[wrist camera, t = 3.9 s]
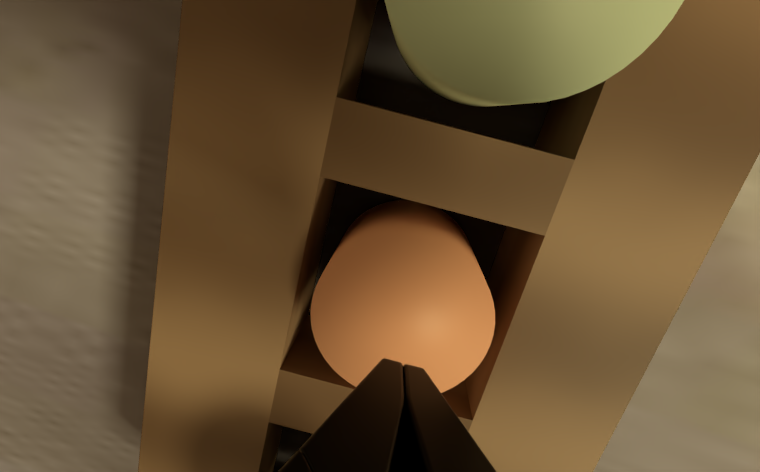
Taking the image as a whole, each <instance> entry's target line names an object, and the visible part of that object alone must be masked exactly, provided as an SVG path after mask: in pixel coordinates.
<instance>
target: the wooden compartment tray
mask: <svg viewBox="0 0 760 472" xmlns="http://www.w3.org/2000/svg"><path fill="white" fill-rule="evenodd" d="M377 1H378V0H182V10H181V21H180V32H179V42H178V53H177V63H176V74H175V85H174V95H173V106H172V117H171V127H170V138H169V148H168V159H167V170H166V180H165V191H164V201H163V212H162V223H161V233H160V244H159V254H158V265H157V276H156V286H155V297H154V307H153V318H152V329H151V339H150V350H149V360H148V371H147V382H146V392H145V403H144V413H143V424H142V435H141V445H140V456H139V466H138V472H273V470H274V465H275V461H276V456H277V452H278V447H279V443H280V438H281V434H282V429H283V426H285V427H289V428H293V429H296V430H300V431H304V432H308V433H312V434H313V433H314V432H315V431H316V430H317V429H318V428H319V427H320V426H321V425H322V424H323V423H324V421H325V420H326V419H327V418H328V417H329V416H330V415H331V414H332V413H333V412H334V411H335V409H336V408H337V407H338V406H339V405H340V404H341V403H342V402H343V401H344V400H345V399H346V398H347V396H348V395H349V394H350V393H351V392H352V391H353V390H354V389H355V388H356V387H355V386H354V385H352V384H350V383H349V382H347V381H346V380H345V379H343V378H342V377H341V376H339V375H338V374H337V373H336V372H335V371H334V370H333V369H332V368H331V366H330V365H329V364H328V363H327V361H326V360H325V359H324V357H323V355H322V354H321V352H320V350H319V348H318V346H317V344H316V341H315V338H314V335H313V331H312V326H311V316H310V315H308V312H309V308H310V303H311V298H312V294H313V289H314V285H315V280H316V276H317V271H318V267H319V262H320V258H321V253H322V249H323V244H324V240H325V235H326V231H327V226H328V222H329V217H330V213H331V208H332V204H333V199H334V195H335V190H336V186H337V181H339V182H343V183H347V184H350V185H354V186H358V187H362V188H366V189H369V190H373V191H377V192H381V193H384V194H388V195H392V196H396V197H400V198H403V199H407V200H411V201H415V202H419V203H422V204H426V205H430V206H434V207H437V208H441V209H445V210H449V211H453V212H456V213H460V214H464V215H468V216H472V217H475V218H479V219H483V220H487V221H490V222H494V223H498V224H502V225H506V229H505V232H504V234H503V237H502V240H501V243H500V245H499V248H498V251H497V254H496V257H495V259H494V262H493V265H492V268H491V271H490V273H489V276H488V279H487V285H488V287H489V289H490V292H491V295H492V299H493V302H494V309H495V328H494V335H493V338H492V342H491V345H490V347H489V349H488V351H487V354H486V356H485V357H484V359H483V360H482V362H481V363H480V365H479V366H478V367H477V368H476V369H475V370H474V372H473V373H472V374H471V375H469V376H468V377H467V378H466V379H465V380H464V381H462V382H461V383H459V384H458V385H456V386H455V387H453V388H451V389H449V390H447V391H445V392H442V393H441V394H442V395H443V396H444V398H445V399H446V401H447V402H448V404H449V405H450V406H451V408H452V409H453V411H454V412H455V413H456V415H457V416H458V418H459V419H460V421H461V422H462V423H463V425H464V426H465V428H466V429H467V430H468V432H469V433H470V435H471V436H472V438H473V439H474V440H475V442H476V443H477V445H478V446H479V448H480V449H481V450H482V452H483V453H484V455H485V456H486V457H487V459H488V460H489V462H490V463H491V465H492V466H493V467H494V469H495V470H496V472H593V470H594V468H595V466H596V465H597V463H598V461H599V459H600V457H601V455H602V453H603V451H604V449H605V447H606V445H607V443H608V442H609V440H610V438H611V436H612V434H613V432H614V430H615V428H616V426H617V424H618V422H619V421H620V419H621V417H622V415H623V413H624V411H625V409H626V407H627V405H628V403H629V401H630V400H631V398H632V396H633V394H634V392H635V390H636V388H637V386H638V384H639V382H640V380H641V379H642V377H643V375H644V373H645V371H646V369H647V367H648V365H649V363H650V361H651V359H652V357H653V356H654V354H655V352H656V350H657V348H658V346H659V344H660V342H661V340H662V338H663V336H664V335H665V333H666V331H667V329H668V327H669V325H670V323H671V321H672V319H673V317H674V315H675V314H676V312H677V310H678V308H679V306H680V304H681V302H682V300H683V298H684V296H685V294H686V293H687V291H688V289H689V287H690V285H691V283H692V281H693V279H694V277H695V275H696V273H697V271H698V270H699V268H700V266H701V264H702V262H703V260H704V258H705V256H706V254H707V252H708V250H709V249H710V247H711V245H712V243H713V241H714V239H715V237H716V235H717V233H718V231H719V229H720V228H721V226H722V224H723V222H724V220H725V218H726V216H727V214H728V212H729V210H730V208H731V207H732V205H733V203H734V201H735V199H736V197H737V195H738V193H739V191H740V189H741V187H742V185H743V184H744V182H745V180H746V178H747V176H748V174H749V172H750V170H751V168H752V166H753V164H754V163H755V161H756V159H757V157H758V155H759V153H760V0H684V1H683V3H682V5H681V6H680V8H679V9H678V11H677V13H676V14H675V16H674V17H673V19H672V20H671V21H670V22H669V24H668V25H667V26H666V28H665V29H664V30H663V31H662V33H661V34H660V35H659V36H658V38H657V39H656V40H655V41H654V42H653V43H652V44H651V45H650V46H649V47H648V48H647V49H646V50H645V51H644V52H643V53H642V54H641V55H640V56H638V57H637V58H636V59H635V60H634V61H632V62H631V63H630V64H629V65H627V66H626V67H625V68H624V69H622V70H621V71H619V72H618V73H616V74H615V75H613V76H611V77H610V78H608V79H607V80H605V81H604V82H602V83H600V84H597V85H595V86H593V87H591V88H589V89H587V90H585V91H583V92H580V93H577V94H574V95H571V96H568V97H566V98H561V99H557V100H552V101H551V103H550V106H549V109H548V112H547V114H546V117H545V120H544V123H543V126H542V128H541V131H540V134H539V137H538V140H537V142H536V145H535V148H532V147H529V146H525V145H521V144H517V143H513V142H510V141H506V140H502V139H498V138H495V137H491V136H487V135H483V134H479V133H476V132H472V131H468V130H464V129H460V128H457V127H453V126H449V125H445V124H441V123H438V122H434V121H430V120H426V119H423V118H419V117H415V116H411V115H407V114H404V113H400V112H396V111H392V110H388V109H385V108H381V107H377V106H373V105H369V104H366V103H362V102H358V101H355V100H356V96H357V91H358V87H359V82H360V77H361V73H362V68H363V64H364V59H365V55H366V50H367V46H368V41H369V37H370V32H371V28H372V23H373V19H374V14H375V10H376V5H377Z"/></svg>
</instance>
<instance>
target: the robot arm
mask: <svg viewBox="0 0 760 472" xmlns="http://www.w3.org/2000/svg"><path fill="white" fill-rule="evenodd" d="M278 472H496V470H495V469H494V467H493V466H492V465H491V463H490V462H489V460H488V459H487V457H486V456H485V455H484V453H483V452H482V450H481V449H480V448H479V446H478V445H477V443H476V442H475V440H474V439H473V438H472V436H471V435H470V433H469V432H468V430H467V429H466V428H465V426H464V425H463V423H462V422H461V421H460V419H459V418H458V416H457V415H456V413H455V412H454V411H453V409H452V408H451V406H450V405H449V404H448V402H447V401H446V399H445V398H444V396H443V395H442V394H441V392H440V391H439V389H438V388H437V386H436V385H435V384H434V382H433V381H432V379H431V378H430V377H429V375H428V374H427V372H426V371H425V370H424V369H423V368H421V367H417V366H413V365H409V364H404V365H402V363H401V362H398V361H394V360H390V359H386V358H383V359H382V360H381V361H380V362H379V363H378V364H377V365H376V366H375V367H374V368H373V369H372V370H371V371H370V373H369V374H368V375H367V376H366V377H365V378H364V379H363V380H362V381H361V382H360V383H359V384H358V386H357V387H356V388H355V389H354V390H353V391H352V392H351V393H350V394H349V395H348V396H347V398H346V399H345V400H344V401H343V402H342V403H341V404H340V405H339V406H338V407H337V408H336V409H335V411H334V412H333V413H332V414H331V415H330V416H329V417H328V418H327V419H326V420H325V421H324V423H323V424H322V425H321V426H320V427H319V428H318V429H317V430H316V431H315V432H314V433H313V434H312V436H311V437H310V438H309V439H308V440H307V441H306V442H305V443H304V444H303V445H302V446H301V448H300V449H299V451H297V452H296V453H295V454H294V455H293V456H292V457H291V458H290V459H289V460H288V461H287V462H286V463H285V465H284V466H283V467H282V468H281V469H280V470H279V471H278Z"/></svg>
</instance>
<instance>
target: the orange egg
mask: <svg viewBox="0 0 760 472" xmlns="http://www.w3.org/2000/svg"><path fill="white" fill-rule="evenodd" d="M311 326H312V331H313V335H314V338H315V341H316V344H317V346H318V348H319V350H320V352H321V354H322V355H323V357H324V359H325V360H326V361H327V363H328V364H329V365H330V366H331V368H332V369H333V370H334V371H335V372H336V373H337V374H338V375H339V376H341V377H342V378H343V379H345V380H346V381H347V382H349V383H350V384H352V385H354V386H355V387H357V386H358V384H359V383H360V382H361V381H362V380H363V379H364V378H365V377H366V376H367V375H368V374H369V373H370V371H371V370H372V369H373V368H374V367H375V366H376V365H377V364H378V363H379V362H380V361H381V360H382V359H383V358H386V359H390V360H394V361H398V362H401V363H402V365H404V364H409V365H413V366H417V367H421V368H423V369H424V370H425V371H426V372H427V374H428V375H429V377H430V378H431V379H432V381H433V382H434V384H435V385H436V386H437V388H438V389H439V391H440V392H441V393H442V392H445V391H447V390H449V389H451V388H453V387H455V386H456V385H458V384H459V383H461V382H462V381H464V380H465V379H466V378H467V377H468V376H469V375H471V374H472V373H473V372H474V370H475V369H476V368H477V367H478V366H479V365H480V363H481V362H482V360H483V359H484V357H485V356H486V354H487V351H488V349H489V347H490V345H491V342H492V338H493V335H494V328H495V309H494V302H493V299H492V295H491V292H490V289H489V287H488V285H487V282H486V280H485V278H484V275H483V273H482V271H481V268H480V266H479V264H478V262H477V259H476V257H475V255H474V252H473V250H472V248H471V245H470V243H469V241H468V239H467V237H466V235H465V233H464V232H463V230H462V228H461V227H460V226H459V225H458V224H457V222H456V221H455V220H454V219H453V218H451V217H450V216H449V215H448V214H446V213H445V212H443V211H442V210H440V209H438V208H436V207H434V206H430V205H426V204H422V203H419V202H415V201H411V200H396V201H390V202H386V203H383V204H380V205H377V206H375V207H373V208H371V209H369V210H367V211H366V212H364V213H363V214H361V215H360V216H359V217H358V218H357V219H356V220H355V221H354V222H353V223H352V224H351V225H350V226H349V228H348V229H347V231H346V233H345V234H344V236H343V238H342V239H341V241H340V243H339V245H338V247H337V248H336V250H335V252H334V254H333V255H332V257H331V259H330V261H329V263H328V264H327V266H326V268H325V270H324V271H323V273H322V275H321V277H320V279H319V281H318V283H317V285H316V287H315V291H314V294H313V297H312V303H311Z"/></svg>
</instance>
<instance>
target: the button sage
mask: <svg viewBox="0 0 760 472" xmlns="http://www.w3.org/2000/svg"><path fill="white" fill-rule="evenodd" d="M683 1H684V0H385V4H386V8H387V12H388V16H389V20H390V24H391V27H392V31H393V35H394V38H395V41H396V44H397V47H398V49H399V51H400V53H401V56H402V58H403V59H404V61H405V63H406V64H407V66H408V67H409V69H410V70H411V71H412V73H413V74H414V75H415V76H416V77H417V79H418V80H420V81H421V82H422V83H423V84H424V85H425V86H426V87H427V88H429V89H430V90H432V91H433V92H434V93H436V94H437V95H439V96H441V97H443V98H445V99H447V100H450V101H453V102H456V103H459V104H463V105H468V106H478V107H489V106H502V105H515V104H528V103H540V102H548V101H552V100H557V99H561V98H566V97H568V96H571V95H574V94H577V93H580V92H583V91H585V90H587V89H589V88H591V87H593V86H595V85H597V84H600V83H602V82H604V81H605V80H607V79H608V78H610V77H611V76H613V75H615V74H616V73H618V72H619V71H621V70H622V69H624V68H625V67H626V66H627V65H629V64H630V63H631V62H632V61H634V60H635V59H636V58H637V57H638V56H640V55H641V54H642V53H643V52H644V51H645V50H646V49H647V48H648V47H649V46H650V45H651V44H652V43H653V42H654V41H655V40H656V39H657V38H658V36H659V35H660V34H661V33H662V31H663V30H664V29H665V28H666V26H667V25H668V24H669V22H670V21H671V20H672V19H673V17H674V16H675V14H676V13H677V11H678V9H679V8H680V6H681V5H682V3H683Z"/></svg>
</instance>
